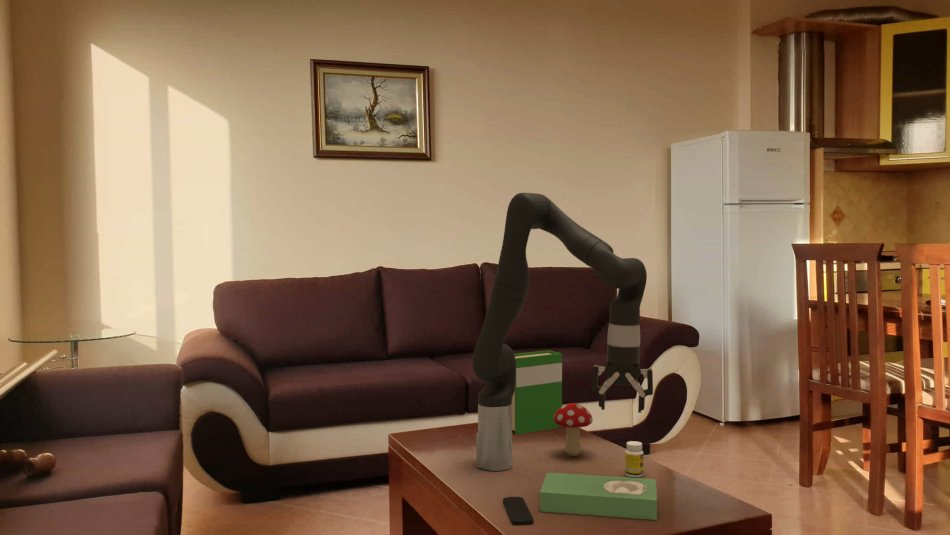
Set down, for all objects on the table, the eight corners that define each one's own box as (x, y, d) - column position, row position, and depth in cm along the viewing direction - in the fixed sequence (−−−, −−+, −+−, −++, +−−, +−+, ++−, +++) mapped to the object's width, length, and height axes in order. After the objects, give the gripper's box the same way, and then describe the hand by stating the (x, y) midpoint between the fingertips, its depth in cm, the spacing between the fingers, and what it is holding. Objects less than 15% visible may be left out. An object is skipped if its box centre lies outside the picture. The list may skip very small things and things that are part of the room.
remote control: (534, 528, 165) (522, 501, 180) (534, 520, 165) (522, 494, 180) (512, 529, 165) (502, 502, 179) (512, 522, 164) (502, 495, 179)
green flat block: (540, 511, 173) (540, 492, 172) (547, 490, 186) (547, 472, 186) (656, 520, 167) (657, 500, 167) (655, 497, 181) (655, 479, 181)
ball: (620, 513, 173) (609, 497, 174) (620, 506, 178) (609, 490, 178) (636, 503, 173) (624, 487, 173) (636, 496, 177) (625, 481, 177)
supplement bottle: (643, 478, 195) (643, 446, 194) (624, 477, 196) (625, 445, 195) (643, 472, 199) (643, 441, 199) (624, 471, 200) (625, 440, 200)
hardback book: (516, 434, 236) (516, 358, 234) (503, 429, 242) (503, 355, 241) (561, 426, 244) (562, 353, 243) (548, 421, 251) (548, 350, 249)
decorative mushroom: (600, 455, 214) (600, 403, 214) (578, 464, 206) (579, 410, 205) (567, 447, 222) (567, 397, 221) (545, 456, 213) (545, 404, 212)
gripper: (592, 343, 175) (589, 412, 177) (654, 347, 172) (652, 417, 174) (594, 338, 183) (592, 404, 184) (654, 341, 180) (652, 408, 181)
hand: (621, 410), depth 179 cm, fingers open, 8 cm apart
